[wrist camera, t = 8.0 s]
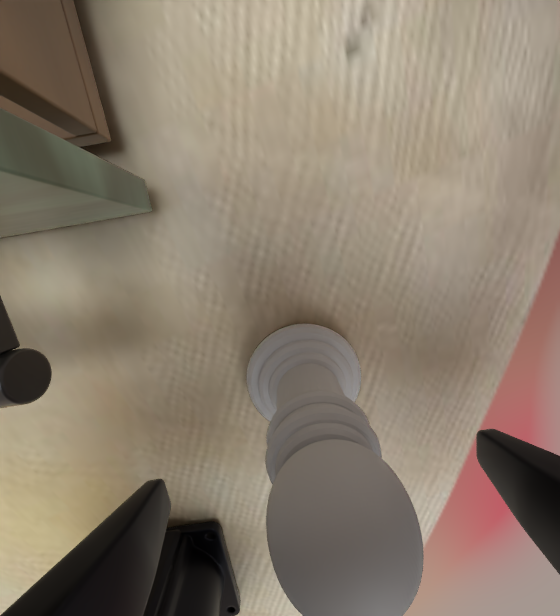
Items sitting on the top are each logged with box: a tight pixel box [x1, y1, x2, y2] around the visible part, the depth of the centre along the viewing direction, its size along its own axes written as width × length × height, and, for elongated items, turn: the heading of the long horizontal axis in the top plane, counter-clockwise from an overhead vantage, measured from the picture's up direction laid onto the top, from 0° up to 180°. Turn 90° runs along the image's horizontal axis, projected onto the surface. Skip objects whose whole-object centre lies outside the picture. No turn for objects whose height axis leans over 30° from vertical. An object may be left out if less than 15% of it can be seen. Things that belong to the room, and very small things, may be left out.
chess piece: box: [246, 324, 423, 616], centre depth 9 cm, size 5×5×9 cm
